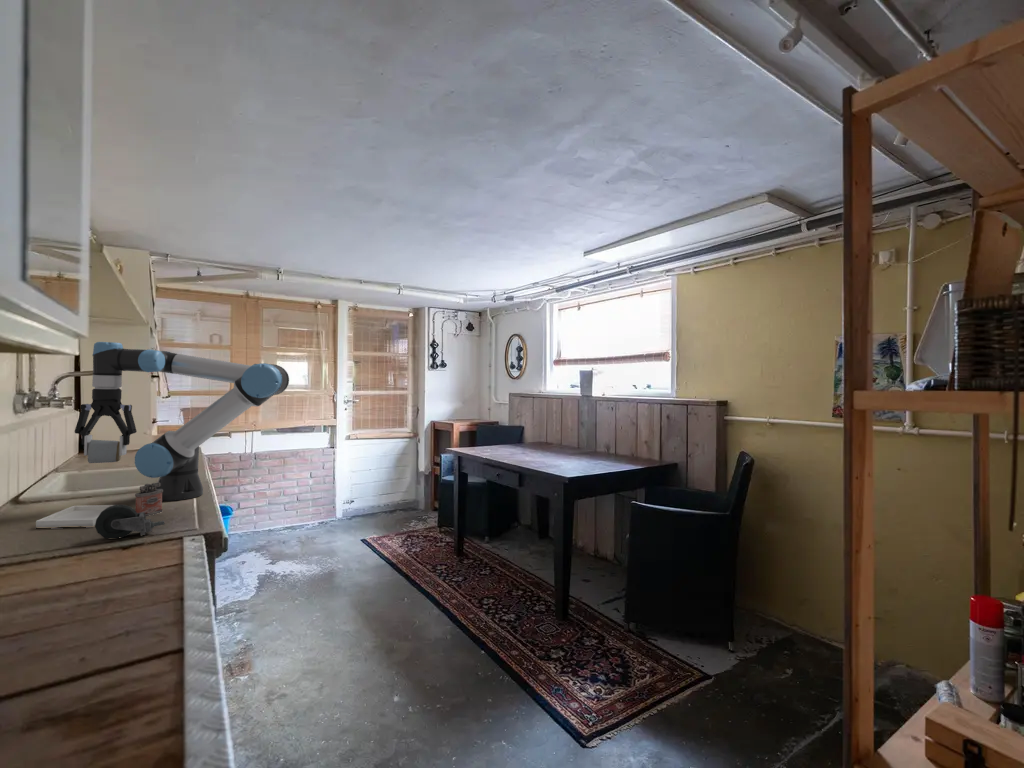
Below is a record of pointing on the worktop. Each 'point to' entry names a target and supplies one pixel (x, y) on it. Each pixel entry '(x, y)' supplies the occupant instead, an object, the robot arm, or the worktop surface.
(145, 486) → the red mechanical device
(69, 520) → the trough tray
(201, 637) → the worktop surface
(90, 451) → the grey piece
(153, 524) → the caster wheel
